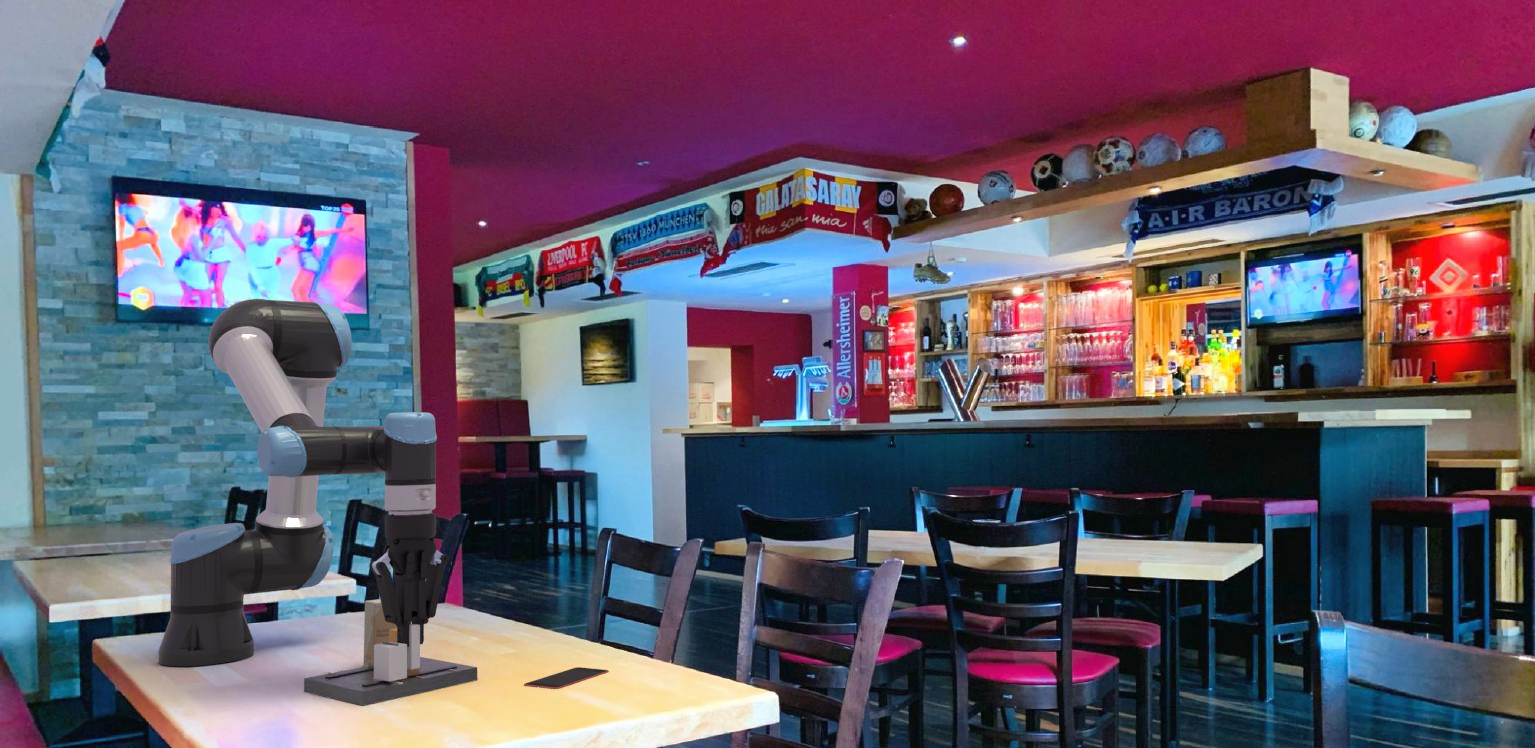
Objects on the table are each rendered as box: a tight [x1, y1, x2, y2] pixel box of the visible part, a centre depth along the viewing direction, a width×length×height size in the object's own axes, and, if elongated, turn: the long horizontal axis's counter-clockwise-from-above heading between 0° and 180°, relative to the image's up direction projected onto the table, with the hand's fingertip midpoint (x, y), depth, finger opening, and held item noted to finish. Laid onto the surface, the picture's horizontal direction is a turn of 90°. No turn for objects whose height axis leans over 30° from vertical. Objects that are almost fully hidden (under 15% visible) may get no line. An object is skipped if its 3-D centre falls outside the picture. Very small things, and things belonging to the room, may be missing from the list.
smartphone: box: [523, 666, 610, 690], centre depth 174 cm, size 7×1×14 cm
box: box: [363, 598, 397, 666], centre depth 187 cm, size 5×4×11 cm
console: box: [303, 656, 478, 707], centre depth 171 cm, size 17×20×2 cm
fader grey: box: [374, 642, 407, 682], centre depth 166 cm, size 4×3×5 cm
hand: (410, 667), depth 168 cm, fingers closed
